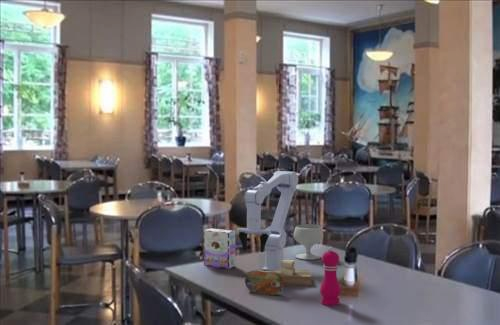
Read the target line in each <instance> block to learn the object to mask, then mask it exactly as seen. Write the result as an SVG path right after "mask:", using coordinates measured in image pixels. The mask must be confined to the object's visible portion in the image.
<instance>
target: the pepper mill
mask: <svg viewBox="0 0 500 325" xmlns="http://www.w3.org/2000/svg"><path fill="white" fill-rule="evenodd" d="M321 262H322V263H323V267H322V268H323V271H324V276H323V281H321V282H322V283H321V285H320V288H319V293H320V295H321V296H322V297H321V298H320V299H321V304H322V305H325V306H329V307H330V306H332V307H333V306H338V305H339V304H340V298H339V296H340V295H341V293H342V290H341V286H340V283H339V280H338V276H337V270H338V268H339V265H338V263H340V255H339V254H338V253H337V252H336V251H334V247H331V246H330V247H328V251H325V252H324V253H323V254H322V255H321Z"/></svg>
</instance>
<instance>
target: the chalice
mask: <svg viewBox="0 0 500 325" xmlns="http://www.w3.org/2000/svg"><path fill="white" fill-rule="evenodd" d="M323 232H324V231H323V229H322V227H321V226H320V225H318V224H310V223H309V224H308V223H307V224H298V225H296V226H295V228H294V231H293V239H294V240H295V241H296V242H297V243H299V244H300V245H302V246H304V248H305V249H306V251H305V253H299V254H296V255H295V258H296V259H300V260H303V261H304V260H305V261H313V260H318V259H322V255H319V254H316V253H312V252H311V248H312V247H313V246H315V245H317V244H318V243H320V242H321V241H322V240H323V238H324V233H323Z"/></svg>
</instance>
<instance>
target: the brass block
mask: <svg viewBox="0 0 500 325" xmlns="http://www.w3.org/2000/svg"><path fill="white" fill-rule="evenodd" d="M269 271H270V272H276V273H278V274H279V275H280V276H281V277H282V279H283V287H287V286H292V287H293V286H298V287H299V286H305V287H306V286H312V275H311V273H310V271H309V270H308V269H305V270H303V269H302V270H297V269H295V273H294V274H293V275H291V276H290V275H281V274H280V271H273V270H269Z"/></svg>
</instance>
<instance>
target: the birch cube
mask: <svg viewBox="0 0 500 325" xmlns="http://www.w3.org/2000/svg"><path fill="white" fill-rule="evenodd" d="M295 270H296V260H293V259H291V260H290V259H283V261H281V262H280V274H281V275H290V276H291V275H293V274H294V273H295Z"/></svg>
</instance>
